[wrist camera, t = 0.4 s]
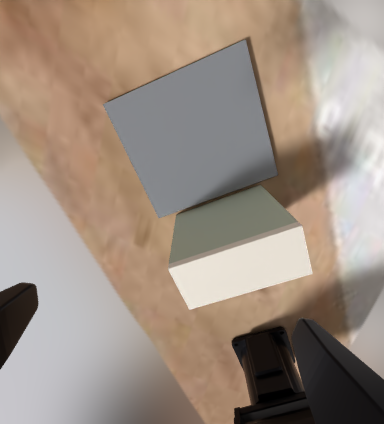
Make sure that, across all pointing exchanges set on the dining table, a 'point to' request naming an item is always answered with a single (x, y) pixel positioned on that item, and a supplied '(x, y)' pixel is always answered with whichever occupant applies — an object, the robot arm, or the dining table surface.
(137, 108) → the mat
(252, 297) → the dining table surface
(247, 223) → the slab
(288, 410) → the robot arm
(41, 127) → the dining table surface
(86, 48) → the dining table surface
